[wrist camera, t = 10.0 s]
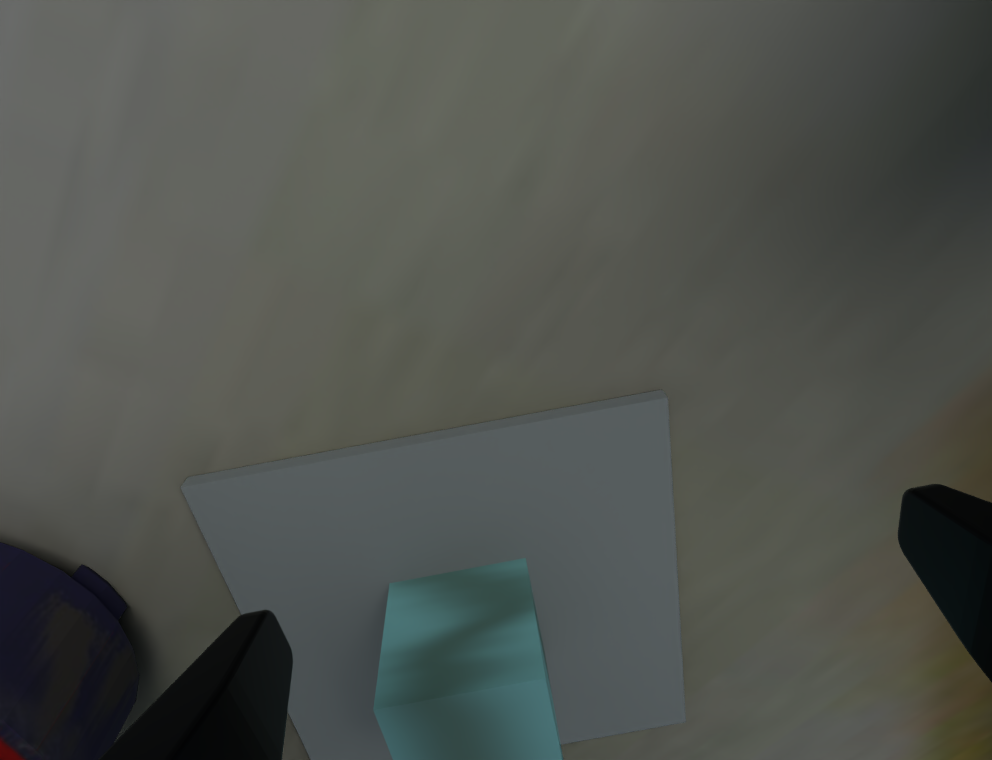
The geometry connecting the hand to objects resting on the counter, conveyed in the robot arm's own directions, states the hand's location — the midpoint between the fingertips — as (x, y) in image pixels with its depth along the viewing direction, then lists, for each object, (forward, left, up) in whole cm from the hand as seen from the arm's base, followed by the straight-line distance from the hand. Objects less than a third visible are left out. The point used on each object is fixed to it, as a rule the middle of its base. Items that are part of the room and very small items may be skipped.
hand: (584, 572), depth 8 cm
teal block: (+3, +11, -10) cm, 16 cm away
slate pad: (+4, +11, -11) cm, 16 cm away
